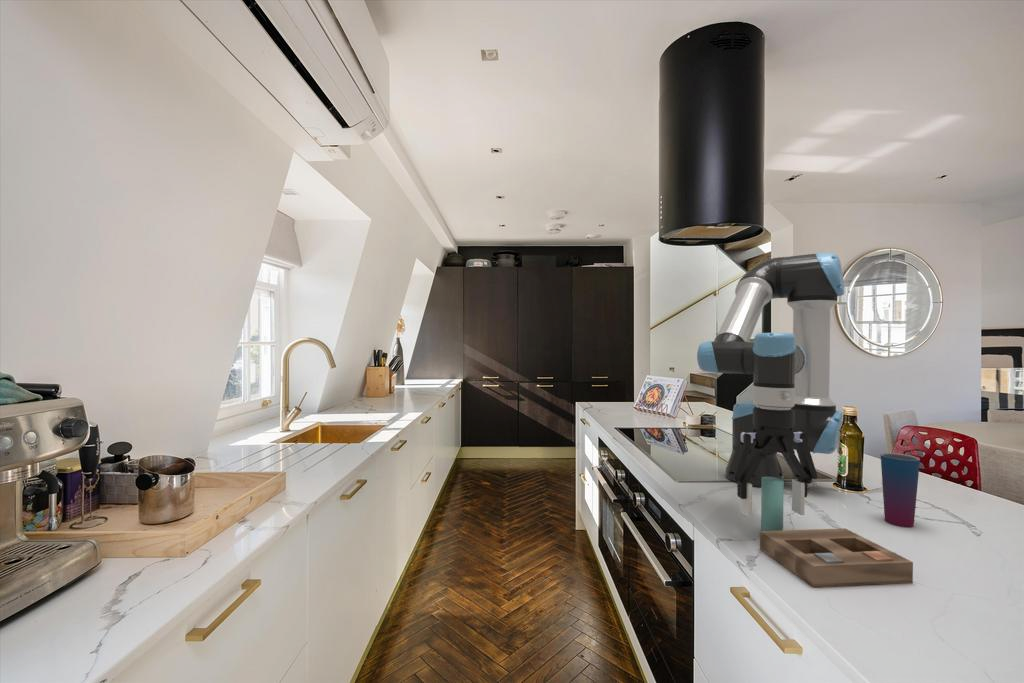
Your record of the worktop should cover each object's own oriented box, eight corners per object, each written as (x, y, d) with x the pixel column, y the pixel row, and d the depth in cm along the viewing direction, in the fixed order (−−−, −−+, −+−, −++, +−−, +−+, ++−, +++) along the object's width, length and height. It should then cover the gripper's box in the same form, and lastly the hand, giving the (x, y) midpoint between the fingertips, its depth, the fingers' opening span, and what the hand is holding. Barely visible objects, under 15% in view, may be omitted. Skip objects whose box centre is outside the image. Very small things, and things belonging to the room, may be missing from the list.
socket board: (759, 549, 90) (760, 529, 90) (845, 545, 92) (845, 526, 92) (813, 587, 76) (813, 564, 76) (912, 582, 78) (912, 560, 78)
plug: (756, 533, 97) (757, 476, 97) (774, 532, 98) (775, 476, 98) (769, 541, 93) (769, 482, 93) (787, 541, 94) (788, 482, 94)
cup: (926, 530, 100) (927, 461, 100) (890, 527, 101) (891, 459, 101) (906, 518, 107) (907, 453, 107) (873, 516, 108) (874, 451, 108)
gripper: (730, 410, 91) (729, 522, 91) (839, 409, 93) (838, 518, 93) (710, 404, 98) (709, 508, 98) (812, 404, 100) (810, 505, 101)
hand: (772, 513), depth 96 cm, fingers open, 11 cm apart
